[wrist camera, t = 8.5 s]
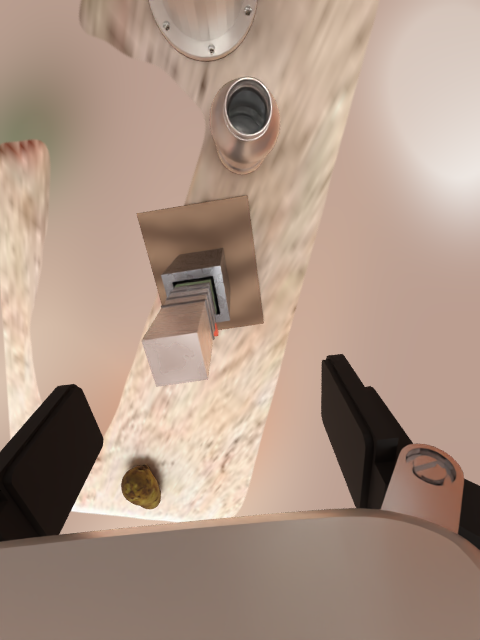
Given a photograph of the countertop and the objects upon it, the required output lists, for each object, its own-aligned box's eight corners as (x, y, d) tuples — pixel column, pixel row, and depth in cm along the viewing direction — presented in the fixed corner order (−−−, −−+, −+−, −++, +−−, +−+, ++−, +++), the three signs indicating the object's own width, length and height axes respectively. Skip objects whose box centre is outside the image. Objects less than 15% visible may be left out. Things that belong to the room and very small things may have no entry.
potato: (125, 490, 66) (112, 526, 59) (130, 449, 61) (117, 484, 54) (162, 494, 67) (153, 531, 60) (169, 455, 62) (161, 490, 55)
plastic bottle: (233, 185, 41) (235, 177, 23) (207, 137, 39) (185, 86, 20) (273, 158, 40) (308, 128, 22) (248, 108, 38) (264, 25, 19)
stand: (139, 212, 42) (101, 220, 30) (246, 195, 42) (253, 195, 29) (172, 333, 50) (153, 378, 38) (262, 319, 50) (273, 361, 37)
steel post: (182, 271, 38) (139, 339, 20) (213, 267, 38) (198, 331, 20) (189, 301, 40) (155, 387, 22) (219, 296, 40) (209, 380, 22)
